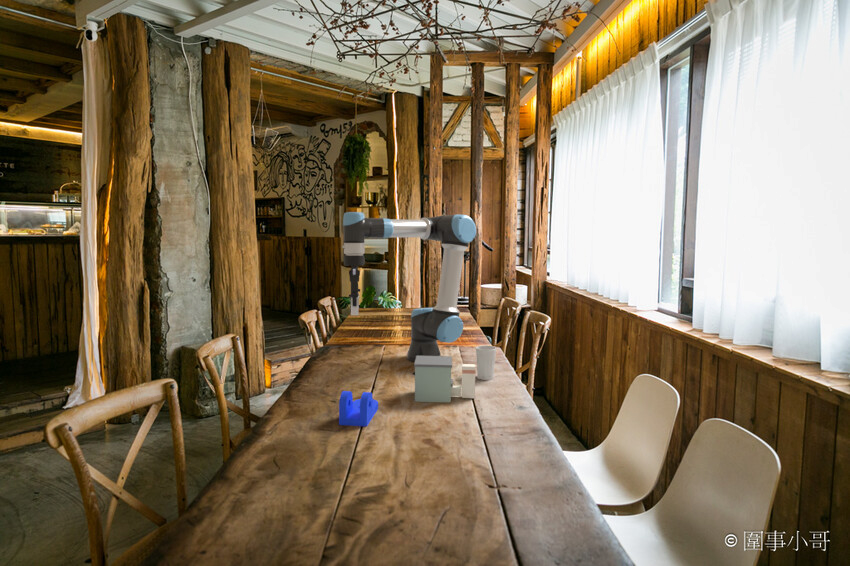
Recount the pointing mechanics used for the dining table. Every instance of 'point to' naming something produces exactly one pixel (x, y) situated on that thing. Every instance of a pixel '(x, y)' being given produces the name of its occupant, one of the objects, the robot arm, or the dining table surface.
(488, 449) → the dining table surface
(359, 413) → the bracket
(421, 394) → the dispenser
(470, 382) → the pink striped cream block
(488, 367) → the cup
